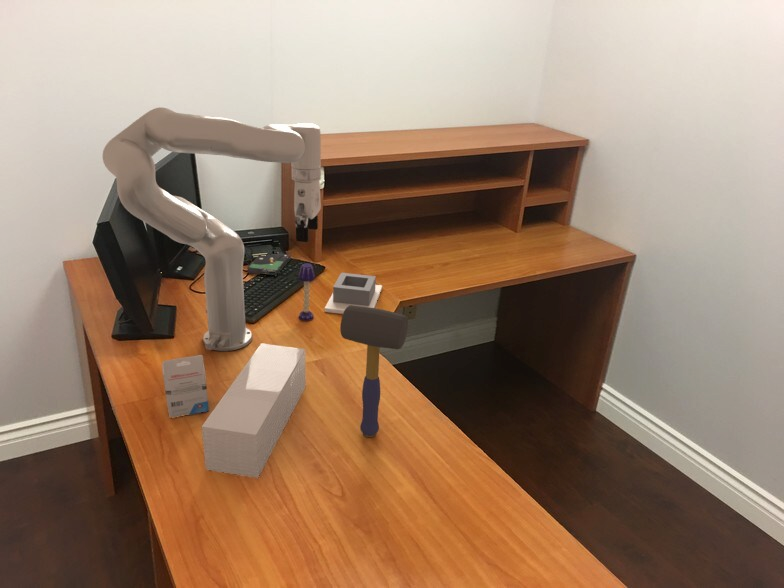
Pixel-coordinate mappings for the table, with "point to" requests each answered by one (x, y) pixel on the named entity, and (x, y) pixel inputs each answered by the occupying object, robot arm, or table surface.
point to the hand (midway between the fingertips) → (307, 234)
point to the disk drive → (268, 263)
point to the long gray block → (254, 411)
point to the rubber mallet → (373, 351)
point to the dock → (353, 292)
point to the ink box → (185, 386)
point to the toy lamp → (306, 290)
